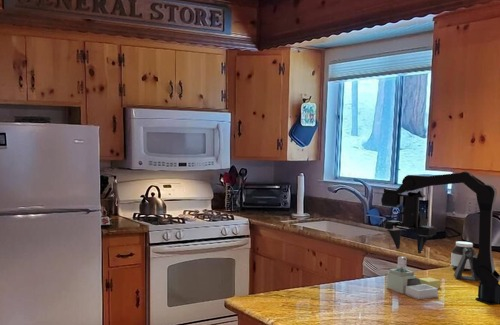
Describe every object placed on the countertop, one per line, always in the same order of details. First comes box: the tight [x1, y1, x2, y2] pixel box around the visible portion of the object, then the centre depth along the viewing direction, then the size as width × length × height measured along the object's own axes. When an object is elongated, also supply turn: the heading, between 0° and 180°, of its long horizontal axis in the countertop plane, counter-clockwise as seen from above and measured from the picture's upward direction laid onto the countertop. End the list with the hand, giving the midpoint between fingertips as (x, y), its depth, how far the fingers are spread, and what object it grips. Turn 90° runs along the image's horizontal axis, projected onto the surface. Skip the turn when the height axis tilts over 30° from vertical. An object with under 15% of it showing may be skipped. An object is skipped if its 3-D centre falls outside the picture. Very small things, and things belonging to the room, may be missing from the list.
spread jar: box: [450, 240, 477, 272], centre depth 222 cm, size 12×11×12 cm
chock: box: [417, 276, 441, 289], centre depth 188 cm, size 5×6×3 cm
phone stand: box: [453, 248, 480, 282], centre depth 203 cm, size 9×6×12 cm, turn 75°
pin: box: [396, 256, 407, 273], centre depth 182 cm, size 3×3×6 cm
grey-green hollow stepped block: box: [386, 268, 421, 294], centre depth 183 cm, size 8×9×7 cm
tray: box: [405, 284, 439, 300], centre depth 175 cm, size 6×9×3 cm, turn 116°
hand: (408, 251), depth 186 cm, fingers open, 9 cm apart
